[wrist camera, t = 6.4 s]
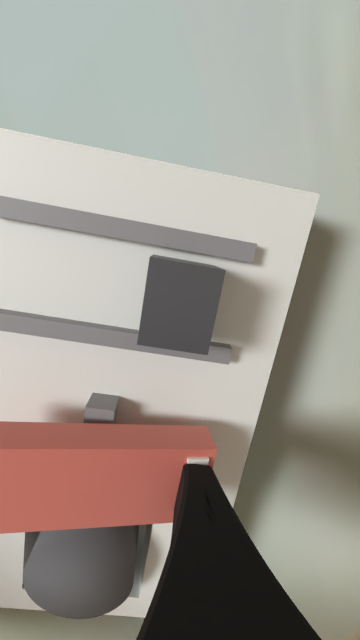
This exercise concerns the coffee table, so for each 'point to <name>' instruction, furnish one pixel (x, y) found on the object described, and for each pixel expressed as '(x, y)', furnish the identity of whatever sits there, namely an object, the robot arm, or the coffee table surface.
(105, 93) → the coffee table surface
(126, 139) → the coffee table surface
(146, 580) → the panel
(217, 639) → the robot arm
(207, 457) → the plate
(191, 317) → the slider
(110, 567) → the button
